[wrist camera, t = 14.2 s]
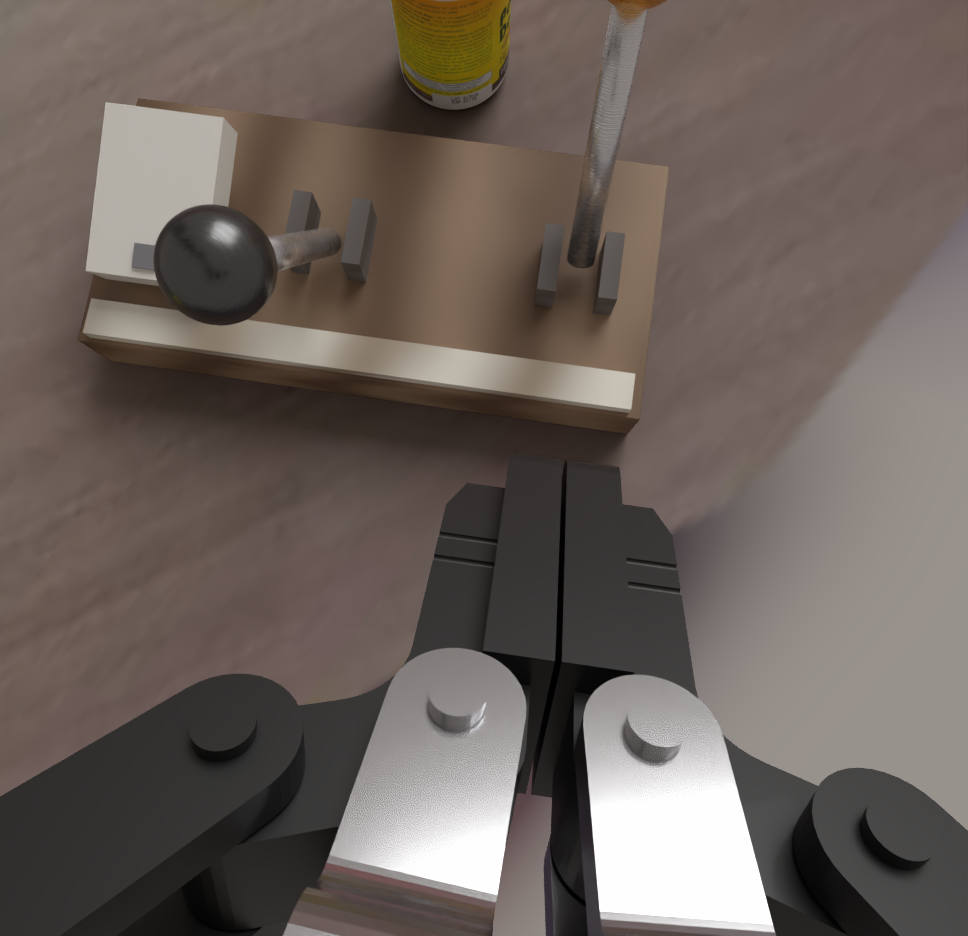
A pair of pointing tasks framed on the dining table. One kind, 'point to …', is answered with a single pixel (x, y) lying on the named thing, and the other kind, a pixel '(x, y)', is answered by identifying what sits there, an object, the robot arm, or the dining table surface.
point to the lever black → (228, 262)
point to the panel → (421, 277)
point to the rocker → (153, 183)
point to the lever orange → (607, 125)
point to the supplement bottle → (452, 48)
